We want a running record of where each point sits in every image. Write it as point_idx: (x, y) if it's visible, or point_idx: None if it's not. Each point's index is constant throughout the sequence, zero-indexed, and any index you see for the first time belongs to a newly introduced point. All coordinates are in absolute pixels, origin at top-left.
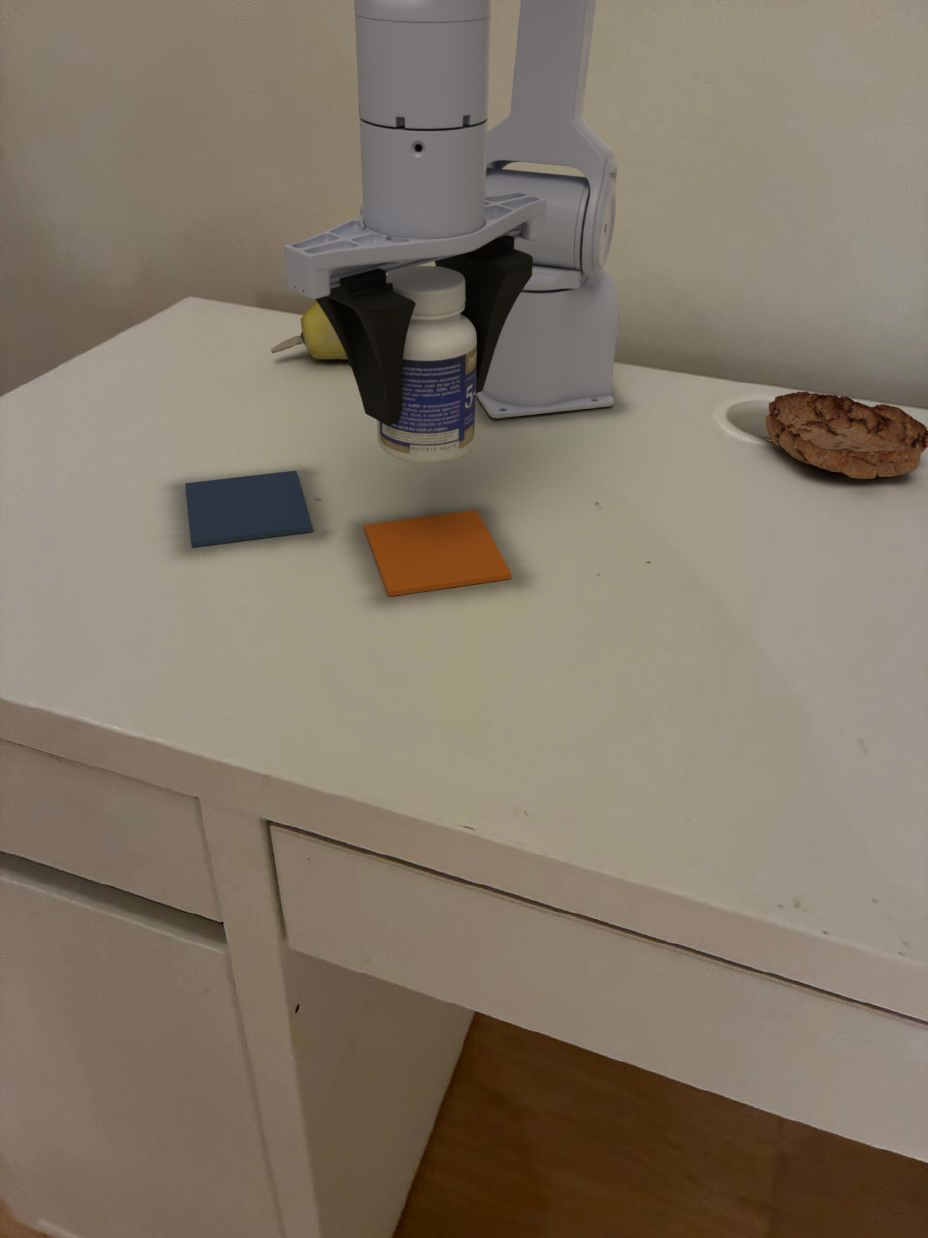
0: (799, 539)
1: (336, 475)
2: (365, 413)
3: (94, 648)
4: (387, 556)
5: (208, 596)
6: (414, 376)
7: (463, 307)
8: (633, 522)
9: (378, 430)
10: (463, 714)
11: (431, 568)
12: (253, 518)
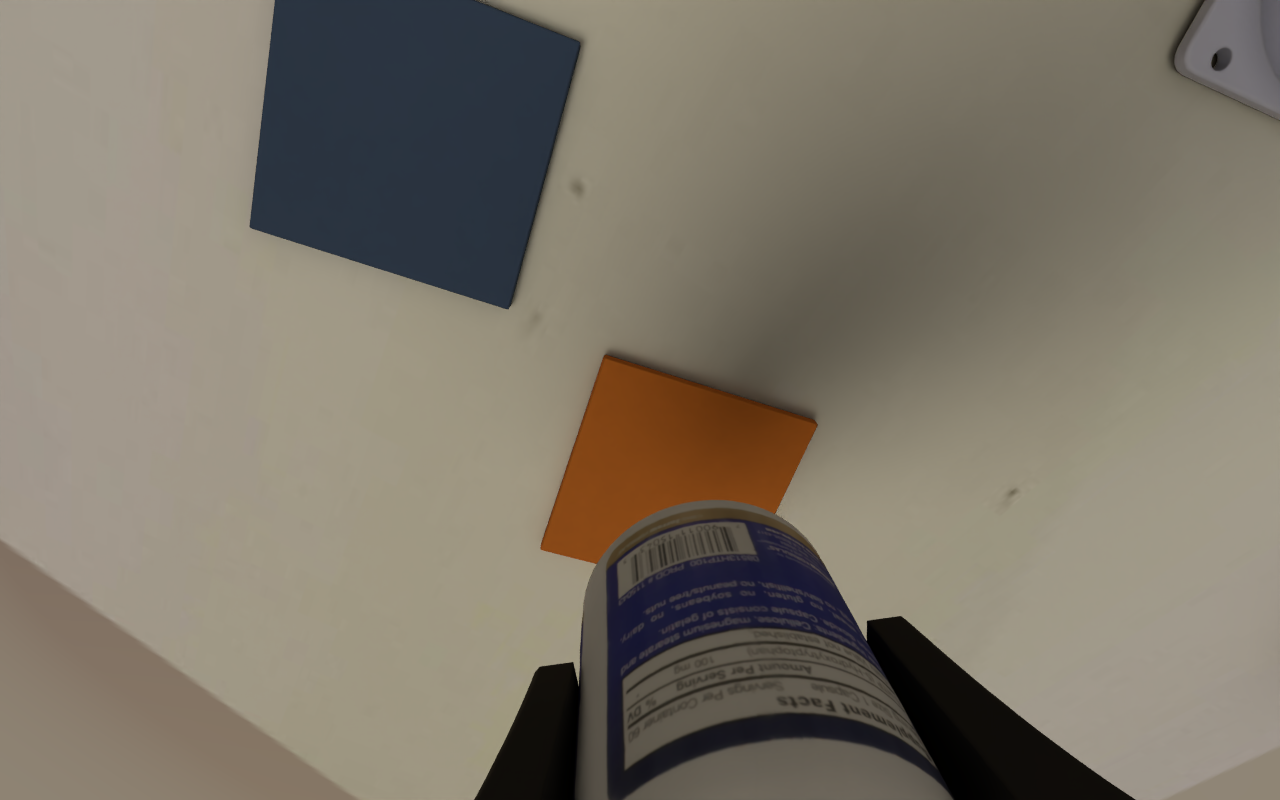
0: (1138, 699)
1: (667, 102)
2: (534, 674)
3: (45, 434)
4: (588, 470)
5: (259, 397)
6: None
7: None
8: (1005, 563)
9: (585, 613)
10: None
11: None
12: (404, 210)
